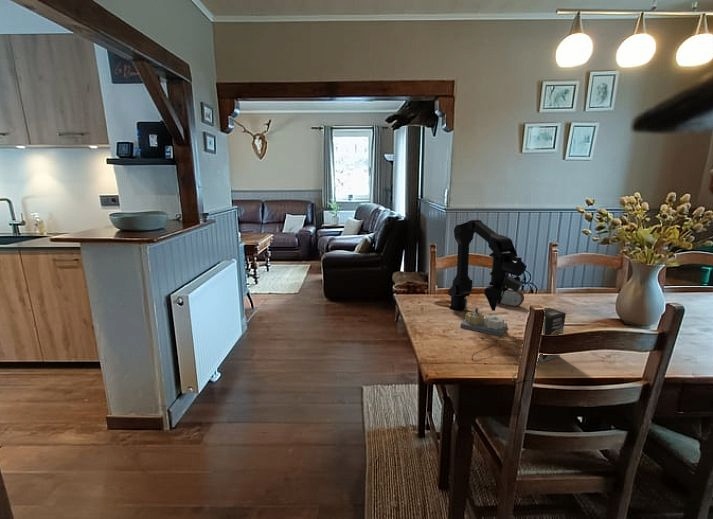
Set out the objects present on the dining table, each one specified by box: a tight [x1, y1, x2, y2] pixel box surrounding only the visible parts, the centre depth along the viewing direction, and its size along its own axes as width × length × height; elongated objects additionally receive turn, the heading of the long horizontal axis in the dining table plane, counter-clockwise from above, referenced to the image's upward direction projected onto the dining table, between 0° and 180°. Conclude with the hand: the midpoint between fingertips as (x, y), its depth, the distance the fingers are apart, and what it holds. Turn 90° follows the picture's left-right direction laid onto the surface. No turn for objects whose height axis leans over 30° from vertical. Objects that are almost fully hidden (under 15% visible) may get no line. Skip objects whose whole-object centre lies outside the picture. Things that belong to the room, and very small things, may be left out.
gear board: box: [460, 307, 508, 337], centre depth 152 cm, size 16×11×6 cm
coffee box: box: [537, 307, 567, 363], centre depth 127 cm, size 9×6×16 cm
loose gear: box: [484, 315, 505, 329], centre depth 150 cm, size 7×7×3 cm
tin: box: [499, 288, 525, 307], centre depth 179 cm, size 15×3×8 cm, turn 58°
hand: (496, 307), depth 148 cm, fingers open, 9 cm apart
